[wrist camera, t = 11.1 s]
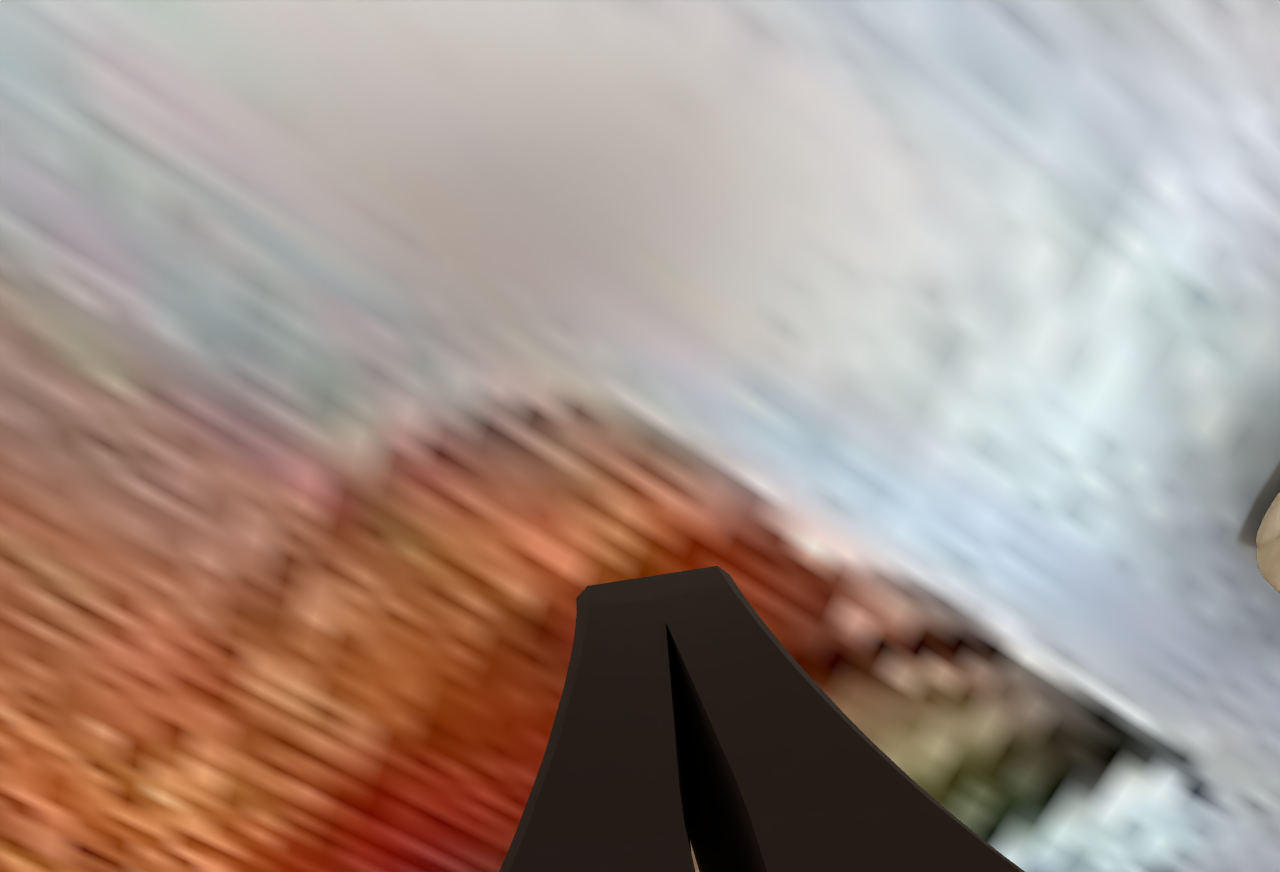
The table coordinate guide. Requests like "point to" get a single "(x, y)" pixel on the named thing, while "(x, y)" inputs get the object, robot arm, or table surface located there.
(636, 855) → the robot arm
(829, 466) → the table surface
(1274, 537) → the storage basket
